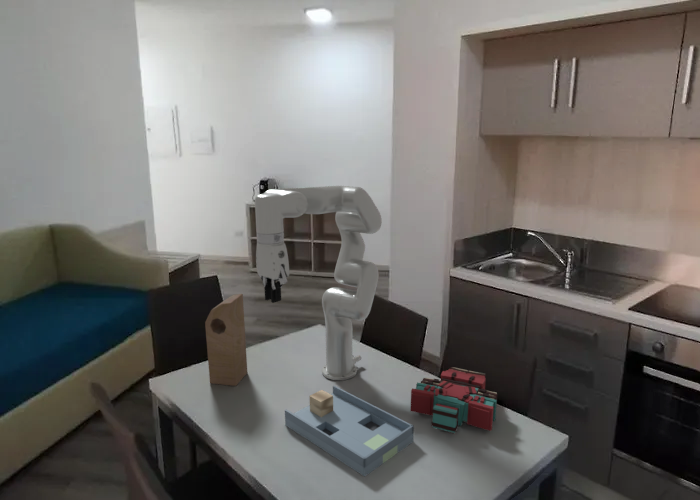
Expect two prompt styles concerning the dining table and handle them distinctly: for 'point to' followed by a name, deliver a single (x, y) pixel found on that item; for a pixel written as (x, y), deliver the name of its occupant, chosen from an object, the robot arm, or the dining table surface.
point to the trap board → (353, 431)
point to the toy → (455, 400)
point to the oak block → (321, 403)
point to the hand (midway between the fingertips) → (273, 299)
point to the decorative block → (227, 342)
